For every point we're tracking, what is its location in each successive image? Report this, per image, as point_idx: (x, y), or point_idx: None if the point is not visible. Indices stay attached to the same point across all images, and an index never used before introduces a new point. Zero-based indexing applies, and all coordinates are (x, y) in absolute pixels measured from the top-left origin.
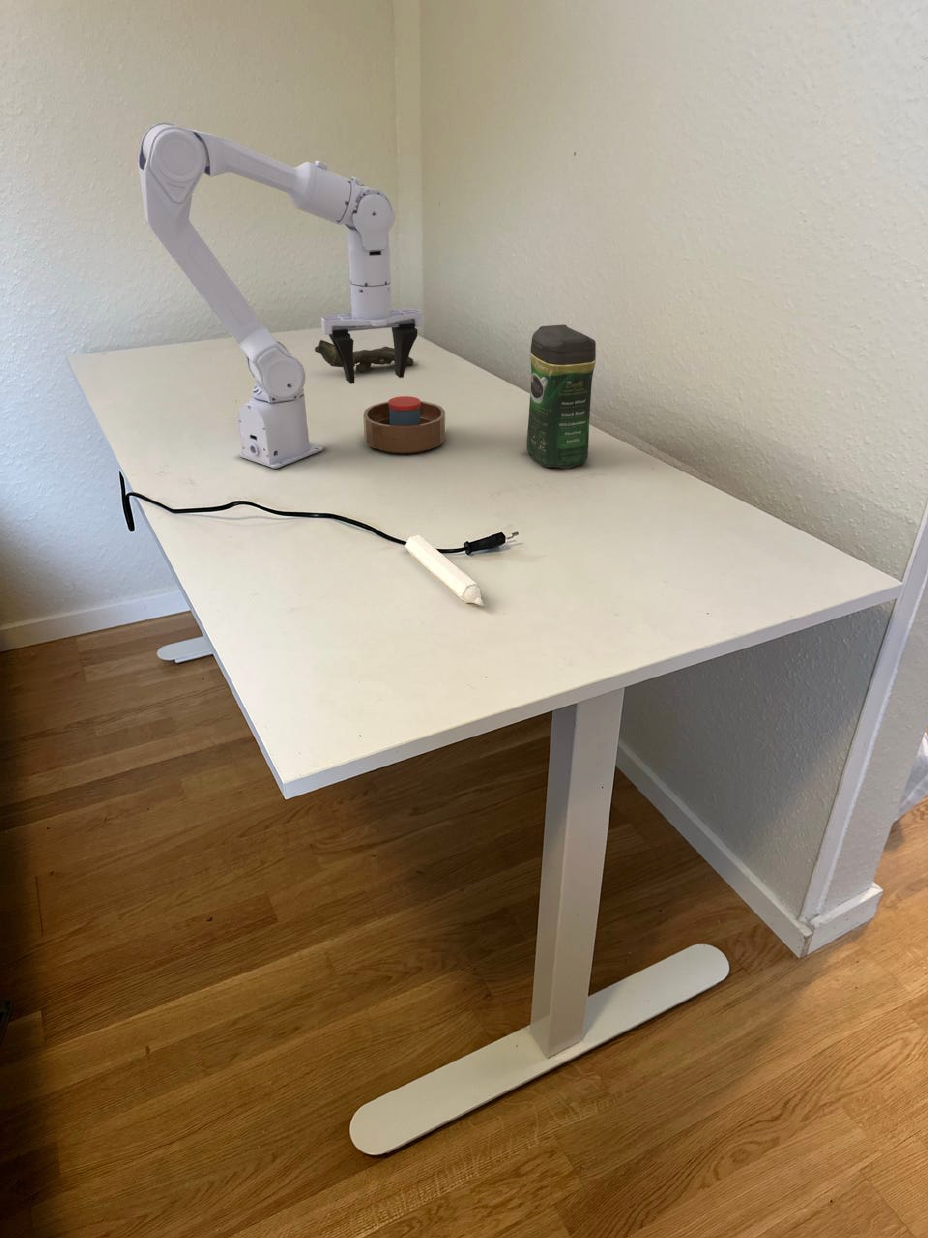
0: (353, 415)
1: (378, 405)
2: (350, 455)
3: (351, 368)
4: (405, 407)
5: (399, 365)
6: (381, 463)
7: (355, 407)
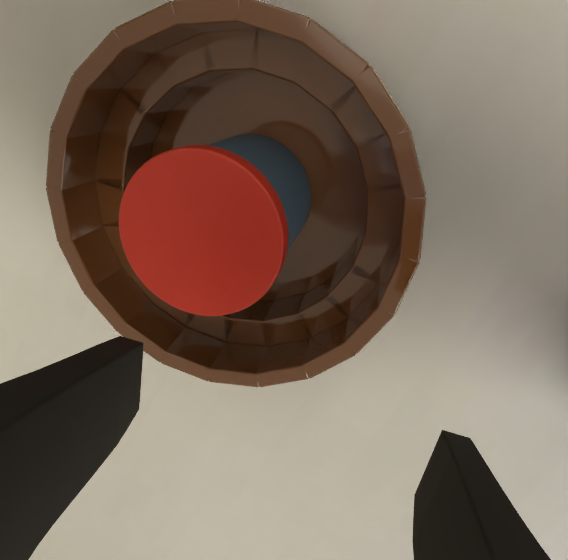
0: (288, 481)
1: (273, 369)
2: (518, 191)
3: (490, 508)
4: (232, 158)
5: (95, 390)
6: (471, 27)
7: (251, 522)
